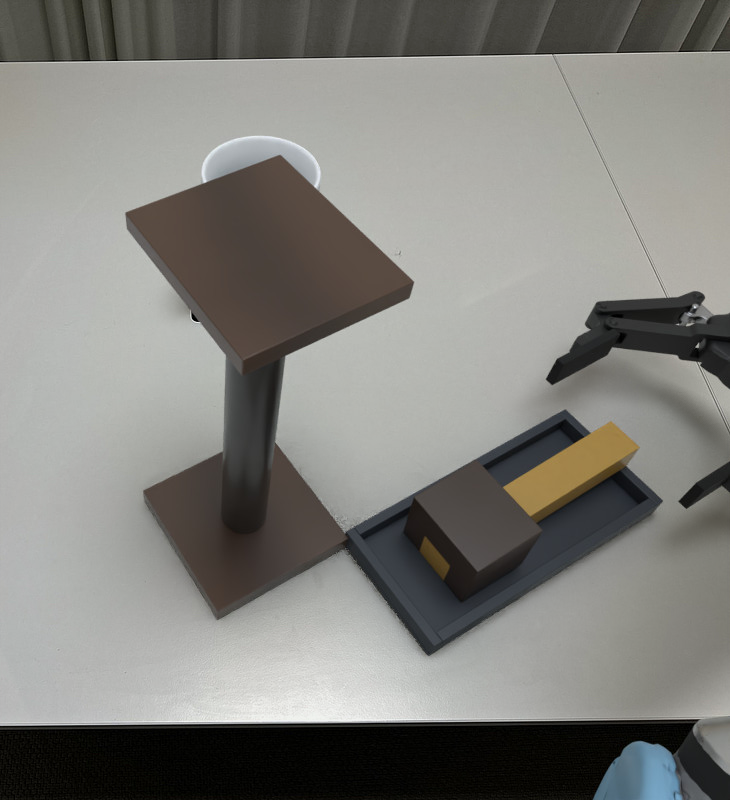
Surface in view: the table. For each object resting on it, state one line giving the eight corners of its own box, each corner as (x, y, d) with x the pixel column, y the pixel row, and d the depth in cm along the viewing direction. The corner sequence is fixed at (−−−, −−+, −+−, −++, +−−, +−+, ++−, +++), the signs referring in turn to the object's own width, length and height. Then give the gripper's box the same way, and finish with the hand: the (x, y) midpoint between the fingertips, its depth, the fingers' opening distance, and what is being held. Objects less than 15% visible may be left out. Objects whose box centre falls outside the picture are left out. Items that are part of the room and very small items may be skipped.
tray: (557, 421, 70) (565, 408, 69) (652, 512, 65) (664, 500, 63) (342, 542, 63) (345, 531, 62) (428, 656, 58) (434, 646, 56)
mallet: (580, 423, 68) (604, 382, 63) (645, 484, 64) (676, 445, 59) (402, 531, 63) (413, 496, 58) (461, 603, 60) (477, 572, 55)
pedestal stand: (264, 440, 69) (294, 148, 45) (346, 547, 63) (431, 274, 39) (144, 500, 66) (107, 218, 42) (217, 620, 60) (223, 369, 36)
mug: (211, 348, 76) (211, 245, 65) (149, 282, 81) (140, 177, 71) (329, 284, 81) (347, 179, 70) (263, 226, 86) (271, 120, 76)
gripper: (903, 456, 64) (729, 579, 58) (656, 271, 77) (493, 356, 71) (975, 401, 58) (790, 532, 52) (694, 211, 71) (519, 297, 65)
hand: (618, 430), depth 62 cm, fingers open, 13 cm apart
